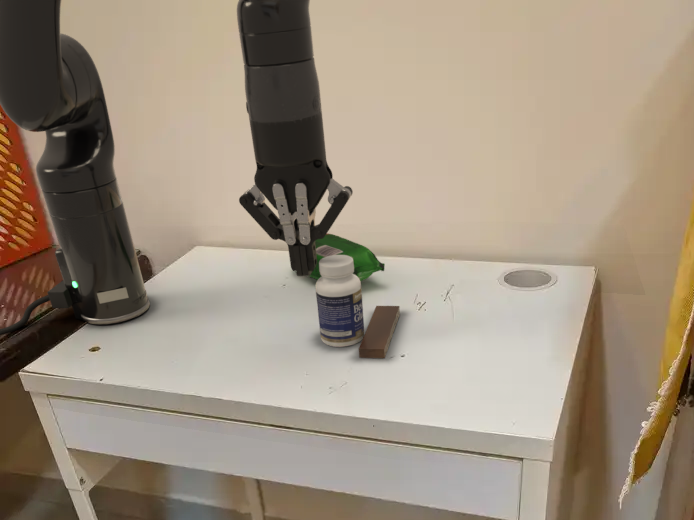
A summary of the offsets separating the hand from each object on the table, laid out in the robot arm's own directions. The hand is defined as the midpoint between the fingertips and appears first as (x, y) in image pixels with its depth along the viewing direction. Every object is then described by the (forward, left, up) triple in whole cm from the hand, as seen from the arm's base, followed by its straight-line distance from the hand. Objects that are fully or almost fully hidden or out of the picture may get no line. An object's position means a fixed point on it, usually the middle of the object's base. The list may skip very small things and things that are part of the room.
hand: (304, 273), depth 84 cm
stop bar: (+8, +1, -8) cm, 12 cm away
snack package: (-1, +19, -8) cm, 21 cm away
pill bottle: (+4, 0, -8) cm, 9 cm away
